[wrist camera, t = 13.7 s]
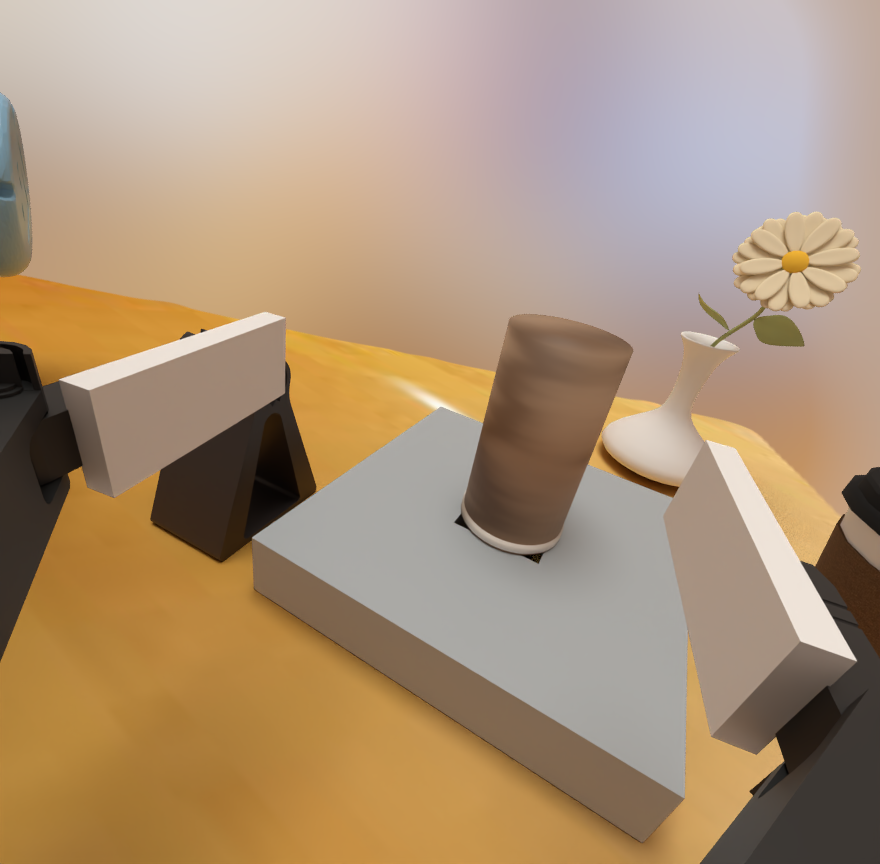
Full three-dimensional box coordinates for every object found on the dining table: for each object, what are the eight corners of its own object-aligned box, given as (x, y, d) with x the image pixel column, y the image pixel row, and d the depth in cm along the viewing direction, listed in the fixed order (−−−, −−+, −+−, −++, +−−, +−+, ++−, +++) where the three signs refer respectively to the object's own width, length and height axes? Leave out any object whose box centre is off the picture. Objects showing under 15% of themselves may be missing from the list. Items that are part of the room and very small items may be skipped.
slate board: (254, 588, 26) (251, 537, 24) (433, 442, 44) (440, 406, 42) (642, 843, 19) (684, 798, 17) (668, 543, 36) (690, 504, 34)
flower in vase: (575, 449, 48) (675, 185, 36) (630, 429, 55) (729, 203, 43) (694, 523, 39) (877, 213, 27) (740, 489, 46) (902, 229, 34)
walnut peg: (436, 531, 32) (485, 310, 24) (513, 519, 35) (580, 317, 27) (476, 606, 27) (554, 356, 19) (563, 586, 30) (663, 359, 22)
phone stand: (219, 564, 27) (202, 383, 21) (150, 523, 29) (117, 346, 23) (316, 491, 34) (324, 342, 29) (257, 462, 36) (252, 317, 30)
